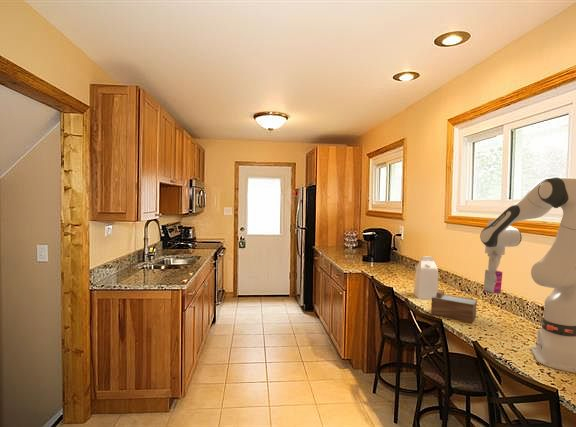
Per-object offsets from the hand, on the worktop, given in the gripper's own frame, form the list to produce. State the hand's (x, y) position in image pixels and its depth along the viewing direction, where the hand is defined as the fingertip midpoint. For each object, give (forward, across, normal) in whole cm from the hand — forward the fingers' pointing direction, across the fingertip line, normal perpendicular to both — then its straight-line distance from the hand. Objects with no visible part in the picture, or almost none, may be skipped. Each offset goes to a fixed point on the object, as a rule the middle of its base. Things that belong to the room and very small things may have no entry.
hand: (493, 276), depth 184 cm
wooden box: (+23, -7, +17) cm, 29 cm away
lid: (+14, -7, +17) cm, 23 cm away
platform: (+24, +14, +13) cm, 30 cm away
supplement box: (+8, 0, 0) cm, 8 cm away
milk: (+24, +23, +38) cm, 51 cm away
